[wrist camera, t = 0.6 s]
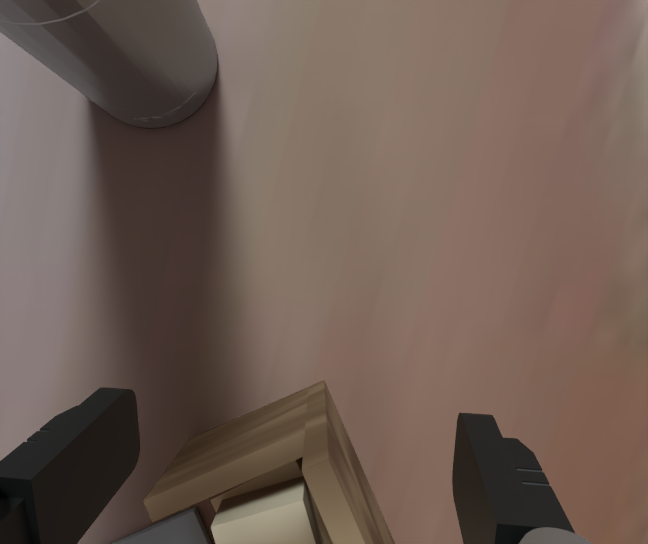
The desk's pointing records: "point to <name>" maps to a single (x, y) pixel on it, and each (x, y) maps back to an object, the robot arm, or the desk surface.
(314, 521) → the offcut top
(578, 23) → the desk surface
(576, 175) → the desk surface
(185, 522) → the felt pad
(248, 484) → the block
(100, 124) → the desk surface
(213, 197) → the desk surface
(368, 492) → the walnut rack
